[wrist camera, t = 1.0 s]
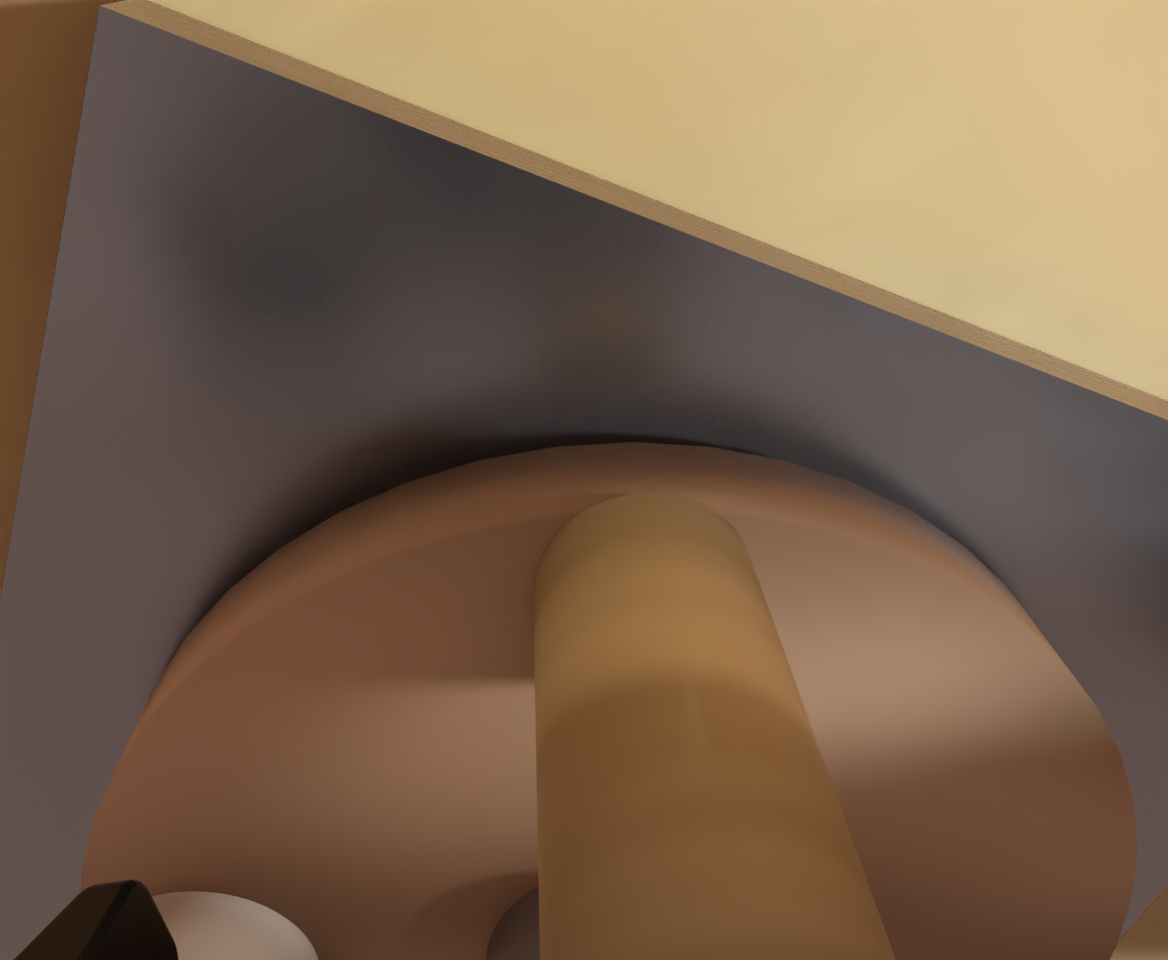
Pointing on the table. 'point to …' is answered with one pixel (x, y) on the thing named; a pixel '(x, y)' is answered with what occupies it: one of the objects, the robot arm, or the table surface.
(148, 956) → the robot arm
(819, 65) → the table surface
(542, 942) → the cam dial
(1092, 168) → the table surface
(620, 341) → the level stand
